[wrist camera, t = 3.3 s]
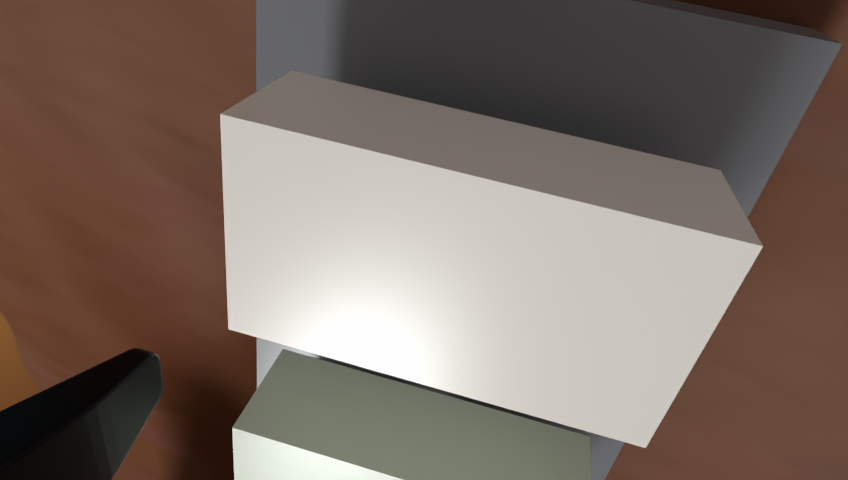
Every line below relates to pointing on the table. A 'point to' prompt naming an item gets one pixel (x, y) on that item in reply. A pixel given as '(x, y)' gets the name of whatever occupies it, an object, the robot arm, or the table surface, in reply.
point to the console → (568, 83)
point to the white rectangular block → (476, 252)
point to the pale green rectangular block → (389, 432)
